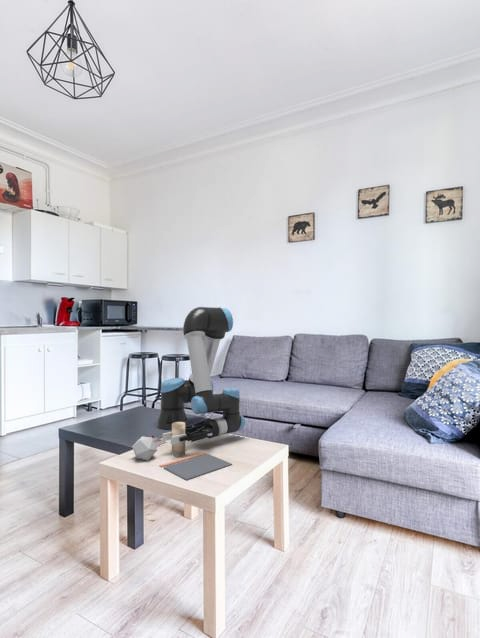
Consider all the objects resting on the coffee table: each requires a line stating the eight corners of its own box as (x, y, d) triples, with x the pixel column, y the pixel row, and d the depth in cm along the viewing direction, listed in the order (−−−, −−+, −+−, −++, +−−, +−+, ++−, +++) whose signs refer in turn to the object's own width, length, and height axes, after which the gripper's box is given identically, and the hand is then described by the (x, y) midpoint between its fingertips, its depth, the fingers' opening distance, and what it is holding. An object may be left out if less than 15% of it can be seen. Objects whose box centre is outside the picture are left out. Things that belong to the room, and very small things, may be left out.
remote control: (158, 449, 151) (158, 442, 151) (133, 443, 160) (133, 436, 160) (170, 445, 157) (170, 438, 157) (145, 439, 166) (145, 432, 166)
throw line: (203, 453, 146) (203, 452, 146) (206, 454, 145) (206, 453, 145) (159, 466, 132) (159, 465, 132) (161, 467, 131) (161, 466, 131)
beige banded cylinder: (180, 450, 148) (180, 421, 148) (187, 454, 144) (187, 423, 144) (169, 454, 145) (169, 423, 145) (176, 457, 141) (176, 426, 141)
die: (161, 458, 142) (155, 434, 146) (154, 454, 134) (148, 429, 139) (140, 466, 141) (135, 442, 146) (133, 463, 133) (127, 437, 138)
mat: (208, 454, 144) (208, 453, 144) (232, 464, 133) (232, 463, 133) (163, 468, 130) (163, 467, 130) (186, 480, 120) (186, 479, 120)
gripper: (228, 441, 150) (180, 455, 134) (201, 432, 163) (154, 443, 147) (228, 423, 150) (180, 434, 134) (201, 415, 164) (155, 424, 148)
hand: (167, 439), depth 141 cm, fingers closed on beige banded cylinder, 5 cm apart
